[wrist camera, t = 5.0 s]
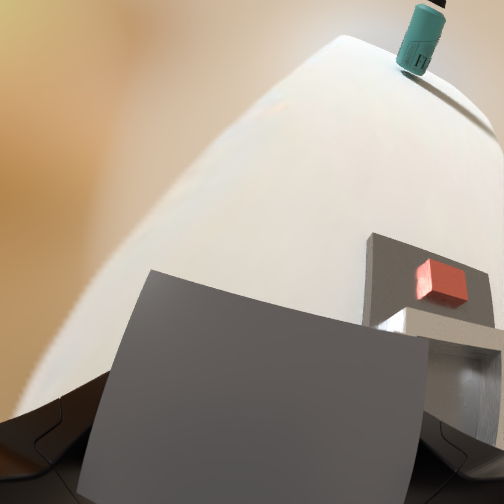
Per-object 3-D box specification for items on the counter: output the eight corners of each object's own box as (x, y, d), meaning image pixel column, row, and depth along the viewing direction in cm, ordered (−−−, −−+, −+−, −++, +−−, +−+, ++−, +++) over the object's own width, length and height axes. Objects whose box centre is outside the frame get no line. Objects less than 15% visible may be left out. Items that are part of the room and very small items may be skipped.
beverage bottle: (408, 80, 41) (442, -5, 24) (385, 63, 44) (414, -17, 27) (426, 84, 43) (459, 7, 26) (405, 68, 46) (433, -6, 29)
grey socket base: (469, 495, 10) (498, 496, 7) (322, 516, 10) (344, 533, 7) (480, 279, 19) (502, 262, 17) (366, 240, 19) (385, 214, 17)
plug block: (274, 464, 12) (389, 548, 2) (174, 439, 12) (73, 493, 2) (292, 391, 14) (430, 337, 4) (196, 367, 14) (149, 266, 5)
